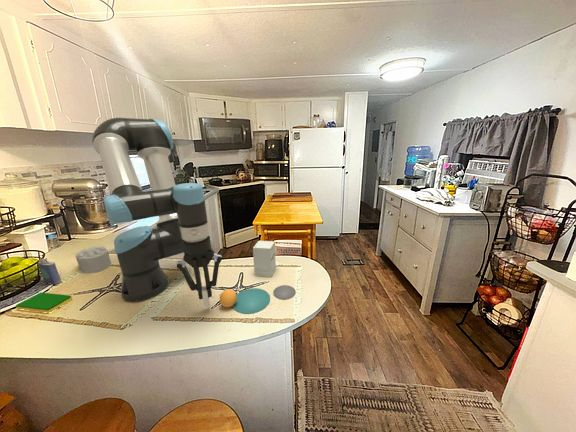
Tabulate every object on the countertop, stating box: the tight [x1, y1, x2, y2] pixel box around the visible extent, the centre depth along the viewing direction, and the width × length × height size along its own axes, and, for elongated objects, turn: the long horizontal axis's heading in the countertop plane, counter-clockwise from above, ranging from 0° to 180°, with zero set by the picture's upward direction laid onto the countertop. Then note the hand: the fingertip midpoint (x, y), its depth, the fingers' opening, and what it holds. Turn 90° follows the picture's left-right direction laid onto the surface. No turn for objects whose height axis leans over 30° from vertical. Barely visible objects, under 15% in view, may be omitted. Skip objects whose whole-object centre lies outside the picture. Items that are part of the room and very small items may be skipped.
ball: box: [219, 288, 237, 308], centre depth 74 cm, size 6×6×6 cm
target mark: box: [231, 287, 271, 315], centre depth 76 cm, size 13×13×1 cm
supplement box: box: [252, 240, 277, 278], centre depth 92 cm, size 7×7×13 cm
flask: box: [37, 257, 62, 286], centre depth 89 cm, size 9×3×11 cm, turn 68°
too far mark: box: [272, 284, 296, 301], centre depth 80 cm, size 8×8×1 cm
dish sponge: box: [15, 292, 73, 313], centre depth 77 cm, size 7×14×2 cm, turn 80°
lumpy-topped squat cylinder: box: [74, 246, 112, 274], centre depth 101 cm, size 10×13×9 cm
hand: (207, 305), depth 72 cm, fingers closed
